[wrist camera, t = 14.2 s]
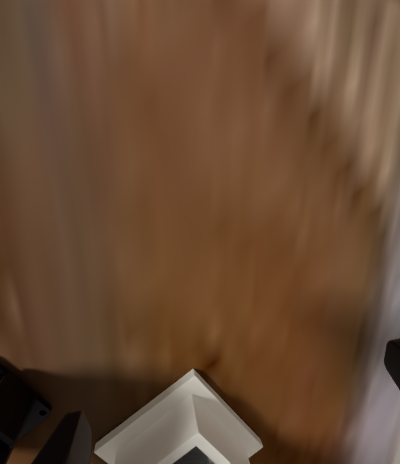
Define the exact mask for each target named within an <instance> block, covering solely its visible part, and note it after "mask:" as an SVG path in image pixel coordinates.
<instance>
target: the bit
mask: <svg viewBox="0 0 400 464" xmlns="http://www.w3.org/2000/svg"><path fill="white" fill-rule="evenodd" d="M173 464H209V460H208V456H207V455H205V454H204V453H203V452H202V451H201V450H200V449H199V448H198V447H197V446H195V447H194V448H193V449H191V450H190V451H189V452H187V453H186V454H185V455H183V456H182V457H181V458H179V459H178V460H177V461H175V462H174V463H173Z"/></svg>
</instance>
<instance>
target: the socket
mask: <svg viewBox="0 0 400 464" xmlns="http://www.w3.org/2000/svg"><path fill="white" fill-rule="evenodd" d="M195 446H197V447H198V448H199V449H200V450H201V451H202V452H203V453H204V454H205V455H207V456H208V460H209V464H250V462H249V459H248V458H249V457H251V456H252V455H253V454H255V453H256V452H257V451H259V450H260V449H261V448H263V445H262V442H261V440H260V438H259V437H258V436H257V435H256V434H255V433H254V432H253V431H252V430H251V429H250V428H249V427H248V426H247V425H246V424H245V422H244V421H243V420H242V419H241V418H240V417H239V416H238V415H237V414H236V413H235V412H234V411H233V410H232V409H231V408H230V407H229V406H228V405H227V404H226V403H225V401H224V400H223V399H222V398H221V397H220V396H219V395H218V394H217V393H216V392H215V391H214V390H213V389H212V388H211V387H210V386H209V385H208V384H207V383H206V382H205V380H204V379H203V378H202V377H201V376H200V375H199V374H198V373H197V372H196V371H195V370H194V369H192V370H191V371H189V372H188V373H187V374H185V375H184V376H183V377H182V378H180V379H179V380H178V381H176V382H175V383H174V384H172V385H171V386H170V387H168V388H167V389H166V390H165V391H163V392H162V393H161V394H159V395H158V396H157V397H155V398H154V399H153V400H151V401H150V402H149V403H148V404H146V405H145V406H144V407H142V408H141V409H140V410H138V411H137V412H136V413H134V414H133V415H132V416H131V417H129V418H128V419H127V420H125V421H124V422H123V423H121V424H120V425H119V426H118V427H116V428H115V429H114V430H112V431H111V432H110V433H108V434H107V435H106V436H104V437H103V438H102V439H101V440H99V441H98V442H97V443H96V444H95V449H94V453H95V454H97V455H98V456H99V457H100V458H102V459H103V460H104V461H105V462H107V463H108V464H173V463H174V462H175V461H177V460H178V459H179V458H181V457H182V456H183V455H185V454H186V453H187V452H189V451H190V450H191V449H193V448H194V447H195Z"/></svg>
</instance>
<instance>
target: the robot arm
mask: <svg viewBox="0 0 400 464" xmlns="http://www.w3.org/2000/svg"><path fill="white" fill-rule="evenodd" d="M384 364H385V367H386V369H387V371H388V372H389V374H390V375H391V377H392V379H393V380H394V382H395V383H396V385H397V386H398V388H399V390H400V339H395V340H390V341H388V343H387V346H386V352H385V357H384ZM51 409H52V407H51V405H50V404H48V403H47V402H46V401H45V400H44V399H42V398H41V397H40V396H39V395H37V394H36V393H35V392H34V391H33V390H31V389H30V388H29V387H28V386H26V385H25V384H24V383H23V382H21V381H20V380H19V379H18V378H17V377H15V376H14V375H13V374H12V373H10V372H9V371H8V370H7V369H6V368H4V367H3V366H2V365H1V364H0V464H6V463H7V461H8V459H9V457H10V455H11V453H12V451H13V448H14V446H15V444H16V442H17V440H18V439H20V438H21V437H22V436H24V435H25V434H26V433H27V432H29V431H30V430H31V429H33V428H34V427H35V426H37V425H38V424H39V423H40V422H42V421H43V420H44V419H46V418H47V417H48V416H49V415H50V412H51ZM42 410H45V411H42ZM90 455H91V428H90V426H89V423H88V421H87V418H86V415H85V413H84V411H83V410H75V411H71V412H68V413H66V414H65V415H64V417H63V418H62V420H61V421H60V423H59V424H58V426H57V427H56V428H55V430H54V431H53V433H52V434H51V436H50V437H49V439H48V440H47V442H46V443H45V444H44V446H43V447H42V449H41V450H40V452H39V453H38V455H37V456H36V457H35V459H34V460H33V462H32V463H31V464H90Z"/></svg>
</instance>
